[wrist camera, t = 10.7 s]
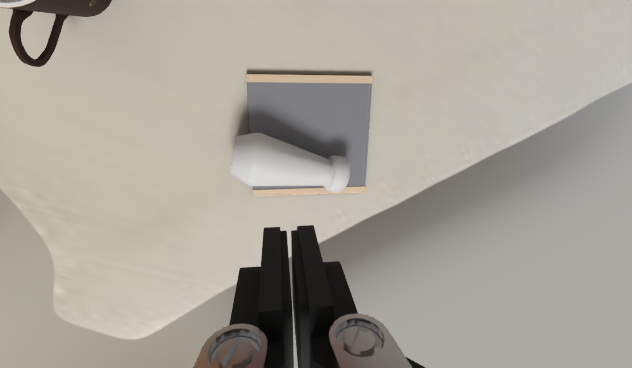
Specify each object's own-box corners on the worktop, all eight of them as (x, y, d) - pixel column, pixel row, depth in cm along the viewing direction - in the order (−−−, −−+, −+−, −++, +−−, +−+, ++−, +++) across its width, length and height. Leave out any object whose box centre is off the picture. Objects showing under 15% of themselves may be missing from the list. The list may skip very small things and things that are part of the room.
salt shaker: (238, 120, 34) (347, 143, 37) (230, 166, 36) (333, 183, 40) (235, 141, 29) (361, 166, 32) (226, 192, 31) (343, 209, 35)
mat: (370, 76, 35) (372, 76, 35) (363, 190, 40) (364, 192, 39) (246, 74, 33) (246, 74, 33) (253, 194, 38) (253, 196, 37)
